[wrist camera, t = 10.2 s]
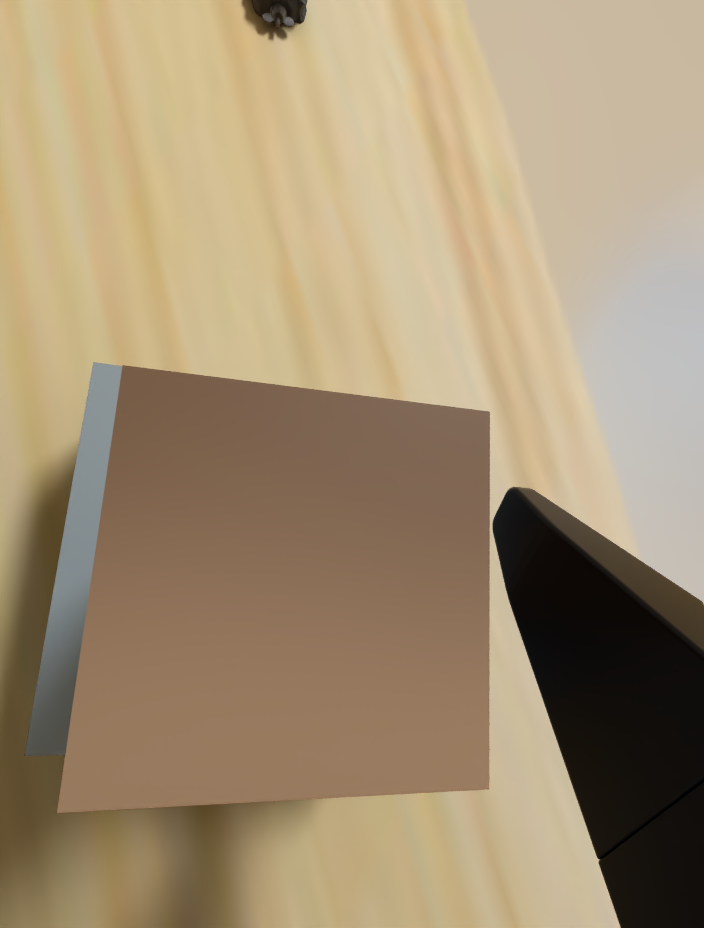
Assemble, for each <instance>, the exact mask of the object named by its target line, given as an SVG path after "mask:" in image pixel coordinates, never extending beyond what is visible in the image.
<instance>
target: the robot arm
mask: <svg viewBox="0 0 704 928" xmlns="http://www.w3.org/2000/svg"><path fill="white" fill-rule="evenodd" d="M493 534H494V538H495V543H496V547H497V552H498V556H499V560H500V565H501V569H502V574H503V578H504V582H505V587H506V591H507V594H508V598H509V602H510V605H511V608H512V611H513V614H514V617H515V620H516V623H517V626H518V628H519V631H520V634H521V637H522V640H523V643H524V646H525V649H526V652H527V655H528V658H529V661H530V663H531V666H532V669H533V672H534V675H535V678H536V681H537V684H538V687H539V690H540V693H541V695H542V698H543V701H544V704H545V707H546V710H547V713H548V716H549V719H550V722H551V725H552V728H553V730H554V733H555V736H556V739H557V742H558V745H559V748H560V751H561V754H562V757H563V760H564V763H565V765H566V768H567V771H568V774H569V777H570V780H571V783H572V786H573V789H574V792H575V795H576V797H577V800H578V803H579V806H580V809H581V812H582V815H583V818H584V821H585V824H586V827H587V830H588V832H589V835H590V838H591V841H592V844H593V847H594V850H595V853H596V856H597V858H598V859H600V860H599V866H600V868H601V871H602V874H603V877H604V880H605V883H606V886H607V889H608V892H609V895H610V898H611V900H612V903H613V906H614V909H615V912H616V915H617V918H618V921H619V924H620V927H621V928H704V604H703V602H702V601H700V600H699V599H697V598H696V597H694V596H693V595H691V594H690V593H688V592H687V591H685V590H684V589H682V588H681V587H679V586H678V585H676V584H675V583H673V582H672V581H670V580H669V579H667V578H666V577H664V576H663V575H661V574H660V573H658V572H657V571H655V570H653V569H652V568H651V567H649V566H648V565H646V564H645V563H643V562H642V561H640V560H639V559H637V558H636V557H634V556H633V555H631V554H630V553H628V552H627V551H625V550H624V549H622V548H620V547H619V546H617V545H616V544H614V543H613V542H611V541H610V540H608V539H607V538H605V537H604V536H602V535H601V534H599V533H598V532H596V531H595V530H593V529H592V528H590V527H589V526H587V525H586V524H584V523H583V522H581V521H580V520H578V519H577V518H575V517H574V516H572V515H571V514H569V513H568V512H566V511H565V510H563V509H562V508H560V507H559V506H557V505H556V504H554V503H553V502H551V501H550V500H548V499H547V498H545V497H543V496H542V495H540V494H539V493H537V492H536V491H534V490H533V489H530V488H521V487H512V488H510V489H509V490H508V491H507V492H506V494H505V496H504V498H503V500H502V502H501V504H500V507H499V509H498V511H497V513H496V515H495V517H494V520H493Z"/></svg>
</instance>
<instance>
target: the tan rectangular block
mask: <svg viewBox="0 0 704 928" xmlns="http://www.w3.org/2000/svg"><path fill="white" fill-rule="evenodd" d="M489 525H490V412H488V411H480V410H472V409H464V408H456V407H448V406H440V405H432V404H424V403H416V402H409V401H401V400H393V399H385V398H377V397H369V396H361V395H353V394H345V393H337V392H329V391H322V390H314V389H306V388H298V387H290V386H282V385H274V384H266V383H258V382H250V381H242V380H234V379H227V378H219V377H211V376H203V375H195V374H187V373H179V372H171V371H163V370H155V369H147V368H140V367H132V366H124V365H123V366H122V373H121V379H120V386H119V393H118V400H117V407H116V413H115V420H114V427H113V434H112V441H111V447H110V454H109V461H108V468H107V475H106V482H105V488H104V495H103V502H102V509H101V516H100V522H99V529H98V536H97V543H96V550H95V556H94V563H93V570H92V577H91V584H90V590H89V597H88V604H87V611H86V618H85V624H84V631H83V638H82V645H81V652H80V658H79V665H78V672H77V679H76V686H75V693H74V699H73V706H72V713H71V720H70V727H69V733H68V740H67V747H66V754H65V761H64V767H63V774H62V781H61V788H60V795H59V801H58V808H57V813H66V812H85V811H103V810H121V809H139V808H157V807H175V806H194V805H212V804H230V803H248V802H266V801H284V800H303V799H321V798H339V797H357V796H375V795H394V794H412V793H430V792H448V791H466V790H484V789H489Z"/></svg>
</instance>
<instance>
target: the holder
mask: <svg viewBox="0 0 704 928" xmlns="http://www.w3.org/2000/svg"><path fill="white" fill-rule="evenodd" d="M121 373H122V366H116V365H109V364H102V363H95V362H93V367H92V373H91V379H90V384H89V390H88V396H87V402H86V407H85V413H84V419H83V424H82V430H81V436H80V441H79V447H78V453H77V458H76V464H75V470H74V476H73V481H72V487H71V493H70V498H69V504H68V510H67V515H66V521H65V527H64V532H63V538H62V544H61V550H60V555H59V561H58V567H57V572H56V578H55V584H54V589H53V595H52V601H51V607H50V612H49V618H48V624H47V629H46V635H45V641H44V646H43V652H42V658H41V663H40V669H39V675H38V681H37V686H36V692H35V698H34V703H33V709H32V715H31V720H30V726H29V732H28V738H27V743H26V749H25V755H24V756H37V755H65V754H66V747H67V740H68V733H69V727H70V720H71V713H72V706H73V699H74V693H75V686H76V679H77V672H78V665H79V658H80V652H81V645H82V638H83V631H84V624H85V618H86V611H87V604H88V597H89V590H90V584H91V577H92V570H93V563H94V556H95V550H96V543H97V536H98V529H99V522H100V516H101V509H102V502H103V495H104V488H105V482H106V475H107V468H108V461H109V454H110V447H111V441H112V434H113V427H114V420H115V413H116V407H117V400H118V393H119V386H120V379H121Z"/></svg>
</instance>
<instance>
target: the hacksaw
mask: <svg viewBox="0 0 704 928" xmlns="http://www.w3.org/2000/svg"><path fill="white" fill-rule="evenodd" d="M252 2H253V5H254V8H255V11H256V13H257V14H258V15H259V16H261V17H262V18H263V19H264V21H266V22H272V21H274V22H275V23H276V28H279V27H280V24H282V23H284V24H285V25H286V26H292V25H294V22H296V23H302V22H303V21H304V19H305V15H306V11H307V10H306V4H307V0H252Z"/></svg>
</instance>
